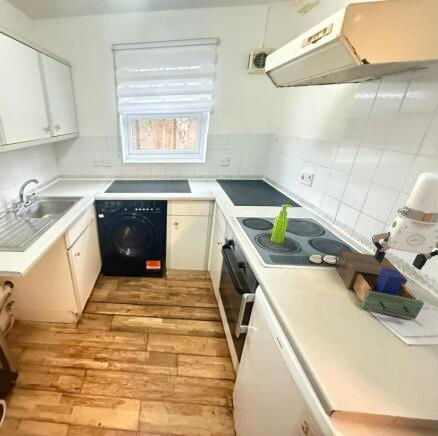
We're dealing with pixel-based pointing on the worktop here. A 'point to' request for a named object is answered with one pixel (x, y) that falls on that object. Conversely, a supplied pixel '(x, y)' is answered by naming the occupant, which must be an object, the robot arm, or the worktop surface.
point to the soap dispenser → (280, 225)
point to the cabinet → (360, 266)
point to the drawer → (386, 298)
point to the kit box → (388, 282)
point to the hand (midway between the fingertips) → (396, 264)
